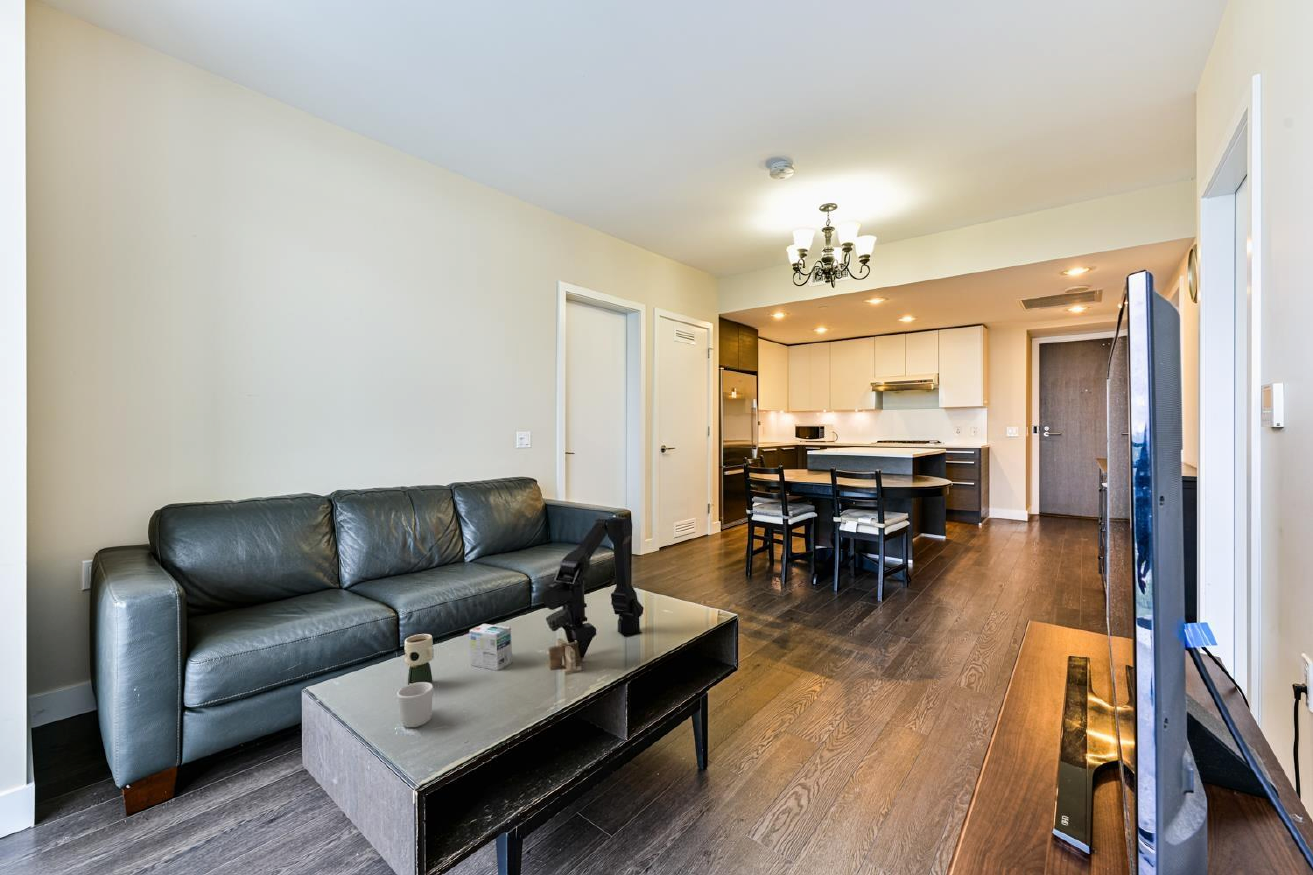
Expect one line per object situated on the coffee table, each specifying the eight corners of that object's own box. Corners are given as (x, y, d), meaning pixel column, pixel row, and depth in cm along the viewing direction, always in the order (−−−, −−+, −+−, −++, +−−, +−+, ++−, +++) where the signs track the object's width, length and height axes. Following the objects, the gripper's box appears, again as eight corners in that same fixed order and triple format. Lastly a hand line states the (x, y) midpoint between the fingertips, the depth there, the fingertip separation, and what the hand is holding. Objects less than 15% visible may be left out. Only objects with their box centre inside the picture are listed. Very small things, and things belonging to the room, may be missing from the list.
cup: (409, 709, 138) (408, 677, 138) (442, 707, 139) (441, 675, 139) (392, 732, 128) (391, 698, 128) (428, 729, 128) (426, 695, 128)
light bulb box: (513, 662, 166) (511, 626, 166) (497, 671, 160) (496, 634, 160) (485, 657, 170) (484, 622, 170) (469, 665, 164) (468, 629, 164)
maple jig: (568, 656, 169) (567, 636, 169) (581, 670, 158) (580, 649, 158) (552, 659, 166) (551, 639, 166) (564, 674, 156) (564, 653, 156)
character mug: (395, 687, 151) (393, 640, 151) (417, 676, 158) (415, 631, 158) (423, 694, 146) (421, 645, 146) (444, 683, 153) (442, 636, 153)
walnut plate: (581, 660, 165) (580, 640, 165) (583, 662, 164) (582, 641, 164) (549, 667, 161) (548, 647, 161) (550, 669, 159) (549, 649, 159)
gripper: (539, 596, 168) (541, 647, 168) (558, 613, 152) (560, 670, 152) (574, 590, 173) (575, 640, 173) (596, 606, 157) (598, 661, 157)
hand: (576, 652), depth 164 cm, fingers open, 9 cm apart
